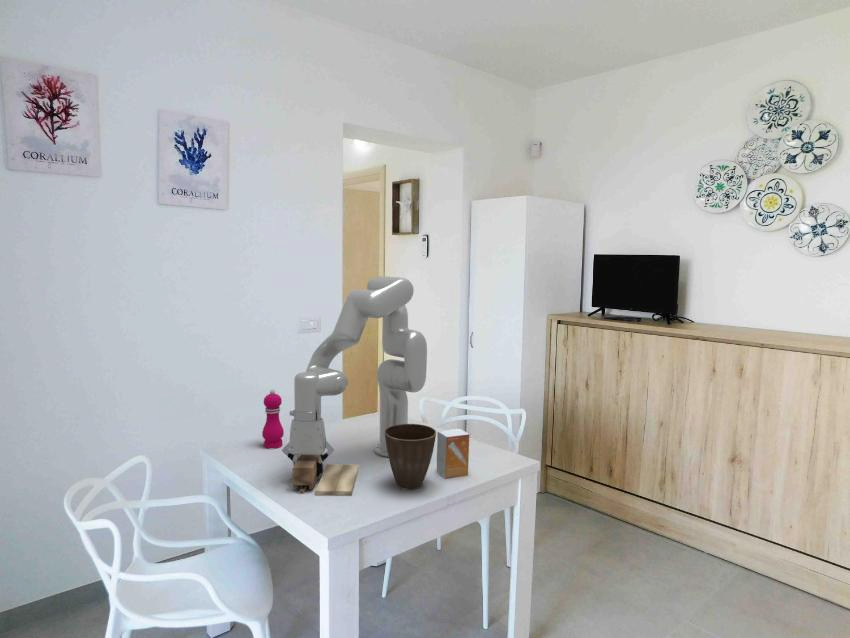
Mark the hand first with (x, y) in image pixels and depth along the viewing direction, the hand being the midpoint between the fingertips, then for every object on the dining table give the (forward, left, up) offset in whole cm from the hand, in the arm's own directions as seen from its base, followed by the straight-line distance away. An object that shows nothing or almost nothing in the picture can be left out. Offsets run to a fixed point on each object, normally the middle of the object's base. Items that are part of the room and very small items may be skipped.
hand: (308, 474), depth 162 cm
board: (-7, 0, -2) cm, 7 cm away
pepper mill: (+18, -30, -2) cm, 35 cm away
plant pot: (-30, +2, -2) cm, 30 cm away
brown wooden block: (0, 0, -1) cm, 1 cm away
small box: (-43, -7, -2) cm, 44 cm away
